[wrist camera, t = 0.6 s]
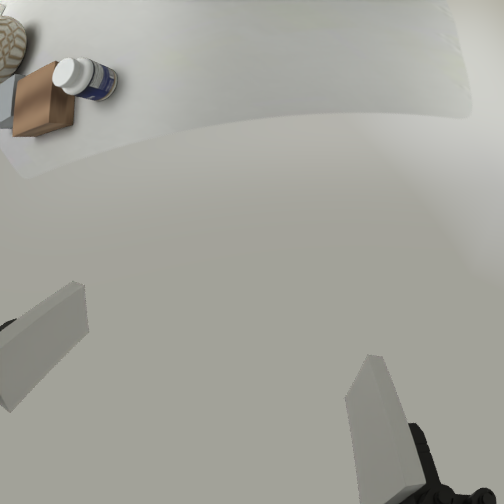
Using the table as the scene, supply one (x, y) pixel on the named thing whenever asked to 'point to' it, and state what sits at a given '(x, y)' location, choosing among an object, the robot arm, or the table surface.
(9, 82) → the slate block
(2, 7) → the pepper shaker
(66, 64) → the pill bottle
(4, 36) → the vase
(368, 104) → the table surface
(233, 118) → the table surface
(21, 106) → the walnut block
